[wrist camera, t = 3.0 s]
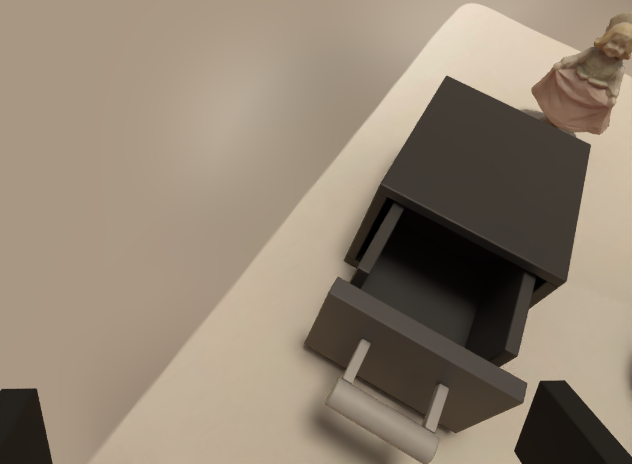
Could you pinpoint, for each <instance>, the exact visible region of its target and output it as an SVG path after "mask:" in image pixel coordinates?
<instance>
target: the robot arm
mask: <svg viewBox="0 0 632 464" xmlns="http://www.w3.org/2000/svg"><path fill="white" fill-rule="evenodd" d="M514 452H515V453H516V455H517V457H518V458H519V460H520V462H521V463H522V464H632V457H631V456H630V454H629V453H628V452H627V451H626V450H625V449H624V448H623V446H622V445H621V444H620V443H619V442H618V441H617V440H616V438H615V437H614V436H613V435H612V434H611V433H610V431H609V430H608V429H607V428H606V427H605V426H604V425H603V423H602V422H601V421H600V420H599V419H598V418H597V417H596V415H595V414H594V413H593V412H592V411H591V410H590V409H589V407H588V406H587V405H586V404H585V403H584V402H583V401H582V399H581V398H580V397H579V396H578V395H577V394H576V393H575V391H574V390H573V389H572V388H571V387H570V386H569V385H568V383H567V382H566V381H565V380H562V381H540V383H539V385H538V388H537V391H536V393H535V396H534V399H533V401H532V404H531V407H530V409H529V412H528V415H527V418H526V420H525V423H524V426H523V428H522V431H521V434H520V436H519V439H518V442H517V444H516V447H515V450H514ZM0 464H52V459H51V454H50V449H49V444H48V440H47V435H46V430H45V425H44V421H43V416H42V411H41V407H40V402H39V397H38V393H37V389H2V390H1V391H0Z"/></svg>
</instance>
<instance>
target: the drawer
mask: <svg viewBox="0 0 632 464" xmlns="http://www.w3.org/2000/svg"><path fill="white" fill-rule="evenodd" d="M536 276H537V275H535V274H533V273H531V272H529V271H527V270H525V269H523V268H521V267H519V266H518V265H516V264H514V263H512V262H510V261H508V260H506V259H504V258H502V257H501V256H499V255H497V254H495V253H493V252H491V251H489V250H487V249H485V248H483V247H482V246H480V245H478V244H476V243H474V242H472V241H470V240H468V239H466V238H465V237H463V236H461V235H459V234H457V233H455V232H453V231H451V230H449V229H447V228H446V227H444V226H442V225H440V224H438V223H436V222H434V221H432V220H430V219H429V218H427V217H425V216H423V215H421V214H419V213H417V212H415V211H413V210H411V209H410V208H408V207H406V206H404V205H402V204H400V203H398V202H396V201H394V203H393V205H392V206H391V208H390V210H389V212H388V214H387V215H386V217H385V219H384V221H383V223H382V224H381V226H380V228H379V230H378V232H377V233H376V235H375V237H374V239H373V240H372V242H371V244H370V246H369V248H368V249H367V251H366V253H365V255H364V257H363V258H362V260H361V262H360V264H359V266H358V267H357V269H356V271H355V273H354V275H353V277H352V279H351V280H350V282H349V283H348V282H346V281H345V280H343V279H341V278H339V277H337V279H336V281H335V282H334V284H333V286H332V287H331V289H330V291H329V293H328V295H327V297H326V299H325V301H324V303H323V305H322V307H321V309H320V312H319V314H318V316H317V318H316V320H315V322H314V324H313V326H312V328H311V330H310V333H309V335H308V337H307V339H306V341H305V343H304V344H305V345H307V346H309V347H310V348H312V349H314V350H315V351H317V352H319V353H320V354H322V355H324V356H326V357H327V358H329V359H331V360H332V361H334V362H336V363H337V364H339V365H341V366H342V367H344V368H346V370H345V372H344V374H343V376H342V378H338V379H337V381H336V382H335V384H334V386H333V387H332V389H331V391H330V393H329V395H328V397H327V399H326V402H325V404H326V405H327V406H328V407H330V408H332V409H333V410H335V411H337V412H338V413H340V414H342V415H343V416H345V417H346V418H348V419H350V420H351V421H353V422H355V423H356V424H358V425H360V426H361V427H363V428H365V429H366V430H368V431H370V432H371V433H373V434H375V435H376V436H378V437H380V438H381V439H383V440H384V441H386V442H388V443H389V444H391V445H393V446H394V447H396V448H398V449H399V450H401V451H403V452H404V453H406V454H408V455H409V456H411V457H413V458H414V459H416V460H418V461H419V462H421V463H422V464H428V463H429V462H430V461H431V460H432V458H433V457H434V455H435V453H436V450H437V447H438V443H439V438H438V436H437V435H436V434H434V433H435V431H436V428H437V425H438V423H439V424H441V425H442V426H444V427H446V428H448V429H449V430H451V431H453V432H454V433H457V432H460V431H462V430H464V429H466V428H469V427H471V426H473V425H475V424H478V423H480V422H482V421H484V420H487V419H489V418H491V417H493V416H496V415H498V414H500V413H502V412H505V411H507V410H509V409H511V408H513V407H516V406H518V405H520V404H522V403H523V402H524V397H525V392H526V388H527V383H526V382H524V381H522V380H521V379H519V378H517V377H515V376H514V375H512V374H510V373H508V372H506V371H505V370H503V369H501V368H499V367H501V366H502V365H504V364H506V363H507V362H509V361H511V360H512V359H514V358H515V357H517V356H518V353H519V348H520V344H521V340H522V335H523V331H524V327H525V323H526V318H527V314H528V310H529V305H530V301H531V297H532V293H533V288H534V284H535V280H536ZM356 375H358V376H359V377H361V378H363V379H365V380H366V381H368V382H370V383H371V384H373V385H375V386H376V387H378V388H380V389H381V390H383V391H385V392H387V393H388V394H390V395H392V396H393V397H395V398H397V399H398V400H400V401H402V402H404V403H405V404H407V405H409V406H410V407H412V408H414V409H415V410H417V411H419V412H420V413H422V414H424V415H426V416H425V419H424V422H423V425H422V426H421V425H419V424H417V423H416V422H414V421H412V420H410V419H409V418H407V417H405V416H404V415H402V414H400V413H399V412H397V411H395V410H394V409H392V408H390V407H389V406H387V405H385V404H384V403H382V402H380V401H378V400H377V399H375V398H373V397H372V396H370V395H368V394H367V393H365V392H363V391H362V390H360V389H358V388H357V387H355V386H353V385H352V383H353V381H354V379H355V377H356Z"/></svg>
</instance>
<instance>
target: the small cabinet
mask: <svg viewBox="0 0 632 464" xmlns="http://www.w3.org/2000/svg"><path fill="white" fill-rule="evenodd" d="M590 148H591V145H590V144H588V143H586V142H584V141H582V140H580V139H578V138H576V137H574V136H572V135H570V134H567V133H565V132H563V131H561V130H559V129H557V128H555V127H553V126H551V125H549V124H547V123H545V122H543V121H540V120H538V119H536V118H534V117H532V116H530V115H528V114H526V113H524V112H522V111H520V110H518V109H515V108H513V107H511V106H509V105H507V104H505V103H503V102H501V101H499V100H497V99H495V98H493V97H490V96H488V95H486V94H484V93H482V92H480V91H478V90H476V89H474V88H472V87H470V86H468V85H465V84H463V83H461V82H459V81H457V80H455V79H453V78H451V77H449V76H446V77H445V78H444V80H443V82H442V83H441V85H440V87H439V88H438V90H437V92H436V93H435V95H434V97H433V98H432V100H431V101H430V103H429V105H428V106H427V108H426V110H425V111H424V113H423V115H422V116H421V118H420V120H419V121H418V123H417V124H416V126H415V128H414V129H413V131H412V133H411V134H410V136H409V138H408V139H407V141H406V143H405V144H404V146H403V147H402V149H401V151H400V152H399V154H398V156H397V157H396V159H395V161H394V162H393V164H392V166H391V167H390V169H389V170H388V172H387V174H386V175H385V177H384V179H383V180H382V182H381V184H380V186H379V188H378V190H377V192H376V194H375V196H374V198H373V200H372V202H371V205H370V207H369V209H368V211H367V213H366V215H365V217H364V219H363V221H362V223H361V226H360V228H359V230H358V232H357V234H356V236H355V238H354V240H353V242H352V244H351V247H350V249H349V251H348V253H347V255H346V257H345V259H344V261H346V262H347V263H349V264H351V265H353V266H355V267H356V268H357V267H358V266H359V264H360V262H361V260H362V258H363V257H364V255H365V253H366V251H367V249H368V248H369V246H370V244H371V242H372V240H373V239H374V237H375V235H376V233H377V232H378V230H379V228H380V226H381V224H382V223H383V221H384V219H385V217H386V215H387V214H388V212H389V210H390V208H391V206H392V205H393V203H394V201H396V202H398V203H400V204H402V205H404V206H406V207H408V208H410V209H411V210H413V211H415V212H417V213H419V214H421V215H423V216H425V217H427V218H429V219H430V220H432V221H434V222H436V223H438V224H440V225H442V226H444V227H446V228H447V229H449V230H451V231H453V232H455V233H457V234H459V235H461V236H463V237H465V238H466V239H468V240H470V241H472V242H474V243H476V244H478V245H480V246H482V247H483V248H485V249H487V250H489V251H491V252H493V253H495V254H497V255H499V256H501V257H502V258H504V259H506V260H508V261H510V262H512V263H514V264H516V265H518V266H519V267H521V268H523V269H525V270H527V271H529V272H531V273H533V274H535V275H537V276H536V280H535V284H534V288H533V293H532V297H531V301H530V305H529V309H530V308H531V307H532V306H534V305H535V304H537V303H538V302H539V301H541V300H542V299H543V298H545V297H546V296H547V295H549V294H550V293H552V292H553V291H554V290H556V289H557V288H558V287H560V286H561V285H562V284H564V283H565V282H566V281H567V276H568V271H569V265H570V259H571V254H572V248H573V243H574V237H575V231H576V226H577V220H578V215H579V209H580V204H581V198H582V192H583V187H584V181H585V176H586V170H587V164H588V159H589V153H590Z"/></svg>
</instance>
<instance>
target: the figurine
mask: <svg viewBox="0 0 632 464" xmlns="http://www.w3.org/2000/svg"><path fill="white" fill-rule="evenodd" d="M594 46H595V47H591V48H589V49H587V50H585V51H583V52H581V53H579V54H577V55H573V56H568V57H563V59H562V60H561V61H560V62H558V63H555V64H554V66H553V68H552V69H551V71H550V72H549V73H548V74H547V75H546V76H545V77H544V78H542V79H541V80H540V81H539V82H538V83H537V84H535V85H534V86H533V87H532V89H531V90H532V94H533V95H534V97H535V98H536V100H537V102H538V104H539V106H540V108H541V110H542V111H543V113H541V112H537V111H528V110H523V111H522V112H524V113H526V114H528V115H530V116H532V117H534V118H536V119H538V120H540V121H543V122H545V123H547V124H549V125H551V126H553V127H555V128H557V129H559V130H561V131H563V132H565V133H567V134H570V135H572V136H574V137H576V135H575V134H574V132H589V133H592V134H598V135H600V134H601V133H603V132H604V131H605V130H606V129H607V127H608V126H609V122H610V113H611V110H612V107H613V106H614V105H615V104H616V98H617V96H618V95H619V91H620V85H621V82H622V78H623V74H624V66H623V59H626V60H629V59H630V57H631V52H632V12H626V13H621V14H617V15H616V16H614V17H613V18H612V19H611V20H610V24H609V26H608V27H607V28H606V33H605V34H604V35H603V36H602V37H600V38H597V39H596V40H595V41H594Z"/></svg>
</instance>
